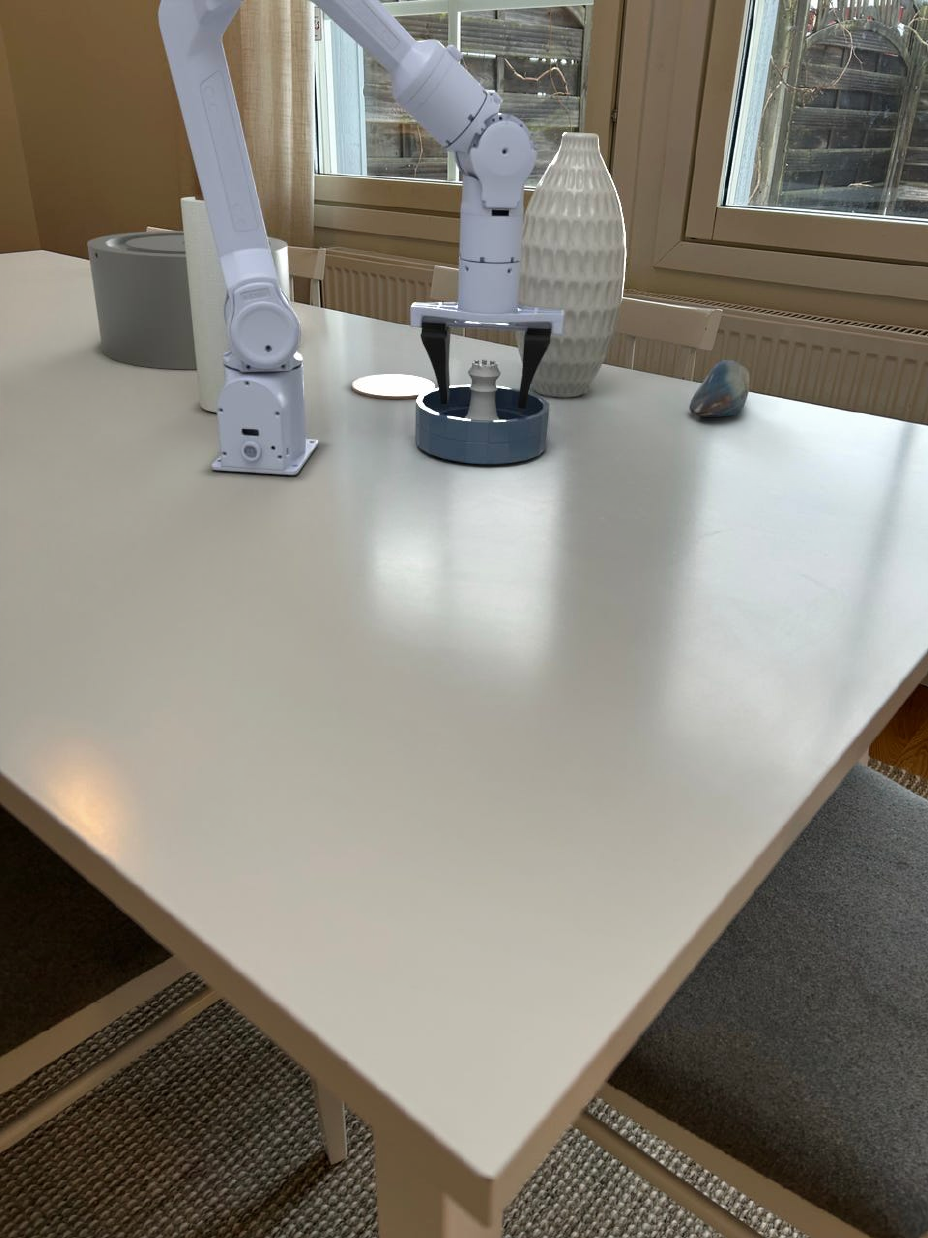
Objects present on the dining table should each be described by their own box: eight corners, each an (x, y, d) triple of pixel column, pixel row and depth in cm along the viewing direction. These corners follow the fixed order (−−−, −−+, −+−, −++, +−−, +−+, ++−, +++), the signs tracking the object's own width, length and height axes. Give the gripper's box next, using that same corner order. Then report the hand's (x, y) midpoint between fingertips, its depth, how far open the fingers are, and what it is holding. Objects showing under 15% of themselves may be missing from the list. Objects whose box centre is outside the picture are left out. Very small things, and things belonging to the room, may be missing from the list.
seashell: (700, 403, 103) (775, 349, 103) (662, 391, 111) (731, 341, 111) (723, 450, 106) (796, 397, 106) (684, 434, 114) (752, 386, 114)
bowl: (545, 471, 90) (548, 425, 88) (407, 463, 91) (408, 417, 89) (546, 430, 102) (549, 388, 100) (424, 422, 103) (425, 381, 101)
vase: (491, 381, 119) (503, 129, 106) (581, 375, 124) (604, 132, 110) (533, 408, 109) (553, 133, 96) (630, 401, 113) (662, 136, 100)
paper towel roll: (194, 413, 102) (172, 197, 92) (208, 398, 108) (189, 192, 98) (261, 416, 103) (246, 200, 92) (271, 400, 108) (259, 195, 98)
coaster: (429, 401, 110) (429, 398, 110) (344, 396, 111) (344, 392, 111) (439, 379, 119) (439, 376, 119) (360, 375, 119) (360, 372, 119)
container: (72, 339, 130) (56, 236, 124) (234, 320, 145) (227, 227, 139) (154, 379, 114) (140, 262, 108) (327, 353, 129) (324, 249, 123)
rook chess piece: (498, 450, 94) (503, 370, 90) (454, 446, 95) (457, 365, 91) (506, 437, 98) (510, 359, 94) (463, 433, 99) (466, 355, 95)
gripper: (567, 256, 91) (556, 396, 98) (417, 249, 92) (416, 388, 98) (568, 267, 85) (556, 416, 91) (407, 259, 86) (406, 407, 92)
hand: (483, 403), depth 95 cm, fingers open, 7 cm apart
